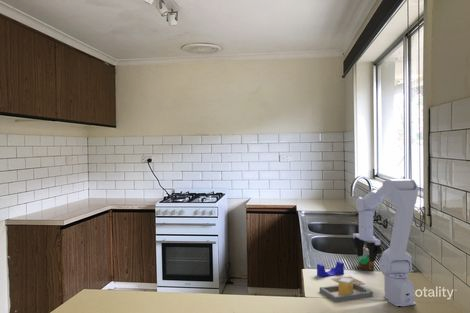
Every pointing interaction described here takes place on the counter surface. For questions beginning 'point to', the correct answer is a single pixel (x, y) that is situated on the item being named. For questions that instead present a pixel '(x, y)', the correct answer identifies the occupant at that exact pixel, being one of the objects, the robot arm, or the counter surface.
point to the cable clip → (334, 271)
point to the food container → (365, 260)
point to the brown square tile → (349, 278)
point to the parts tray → (363, 294)
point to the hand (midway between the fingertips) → (366, 258)
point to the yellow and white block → (345, 286)
